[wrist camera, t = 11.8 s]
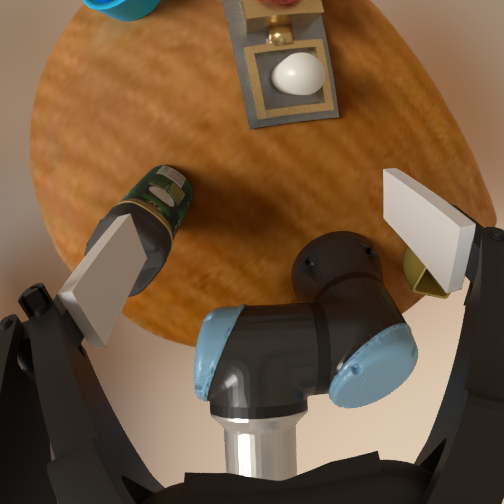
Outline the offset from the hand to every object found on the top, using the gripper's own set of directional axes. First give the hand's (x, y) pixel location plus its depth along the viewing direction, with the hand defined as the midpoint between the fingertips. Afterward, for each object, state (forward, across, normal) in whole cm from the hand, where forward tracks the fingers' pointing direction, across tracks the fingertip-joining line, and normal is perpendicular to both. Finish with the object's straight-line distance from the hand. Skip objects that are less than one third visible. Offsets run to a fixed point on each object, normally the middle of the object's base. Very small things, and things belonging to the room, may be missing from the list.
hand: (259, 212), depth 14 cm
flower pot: (+27, -26, +22) cm, 43 cm away
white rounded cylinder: (+26, -6, -7) cm, 27 cm away
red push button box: (+27, -6, -12) cm, 30 cm away
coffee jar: (+27, +14, +6) cm, 31 cm away
